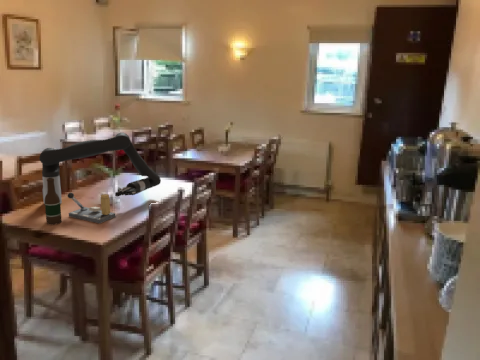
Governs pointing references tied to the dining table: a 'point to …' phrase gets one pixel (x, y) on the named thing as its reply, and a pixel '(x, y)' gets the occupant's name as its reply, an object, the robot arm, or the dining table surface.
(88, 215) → the control box
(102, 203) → the slider knob
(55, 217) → the beer bottle
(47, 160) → the robot arm
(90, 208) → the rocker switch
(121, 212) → the dining table surface
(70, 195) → the toggle lever
